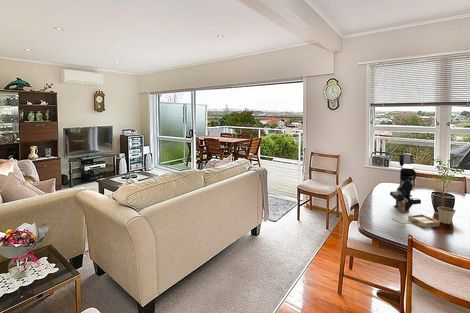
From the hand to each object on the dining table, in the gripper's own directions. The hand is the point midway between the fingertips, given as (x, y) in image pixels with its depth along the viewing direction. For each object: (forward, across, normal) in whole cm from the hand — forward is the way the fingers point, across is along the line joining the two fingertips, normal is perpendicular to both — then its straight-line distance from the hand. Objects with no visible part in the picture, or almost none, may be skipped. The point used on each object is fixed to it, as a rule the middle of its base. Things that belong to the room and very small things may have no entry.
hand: (403, 209), depth 170 cm
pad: (+8, 0, 0) cm, 8 cm away
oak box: (+8, +6, +10) cm, 14 cm away
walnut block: (+2, 0, 0) cm, 2 cm away
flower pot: (+8, +8, +24) cm, 27 cm away
